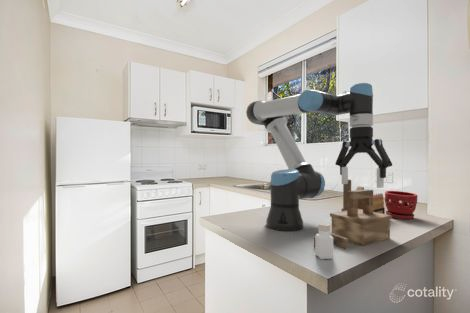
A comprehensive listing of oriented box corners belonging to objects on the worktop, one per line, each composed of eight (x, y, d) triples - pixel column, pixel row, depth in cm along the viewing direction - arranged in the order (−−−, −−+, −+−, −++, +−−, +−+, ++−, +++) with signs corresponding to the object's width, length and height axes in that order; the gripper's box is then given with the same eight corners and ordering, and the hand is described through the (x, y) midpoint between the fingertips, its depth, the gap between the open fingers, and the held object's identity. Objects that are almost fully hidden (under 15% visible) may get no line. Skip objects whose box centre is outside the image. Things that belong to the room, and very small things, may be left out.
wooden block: (364, 215, 121) (364, 179, 121) (346, 217, 118) (347, 180, 118) (358, 214, 125) (358, 178, 125) (341, 215, 121) (341, 179, 121)
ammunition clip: (373, 221, 110) (374, 194, 110) (369, 220, 112) (369, 194, 112) (384, 218, 117) (384, 193, 117) (380, 217, 118) (380, 192, 118)
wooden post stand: (330, 216, 90) (330, 190, 90) (358, 211, 98) (358, 187, 98) (362, 225, 79) (362, 194, 79) (391, 218, 87) (391, 191, 87)
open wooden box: (331, 235, 90) (331, 216, 90) (358, 229, 98) (358, 212, 98) (362, 246, 80) (362, 224, 80) (389, 238, 87) (389, 218, 87)
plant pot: (384, 218, 117) (384, 193, 117) (385, 212, 128) (385, 190, 128) (418, 222, 109) (418, 195, 109) (416, 216, 120) (416, 192, 120)
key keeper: (314, 246, 79) (314, 237, 79) (332, 242, 83) (332, 233, 83) (329, 253, 73) (329, 243, 73) (348, 248, 78) (348, 238, 78)
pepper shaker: (334, 259, 69) (334, 225, 69) (320, 260, 69) (320, 226, 69) (327, 253, 73) (327, 222, 73) (314, 254, 73) (314, 222, 73)
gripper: (326, 130, 98) (326, 183, 98) (391, 121, 76) (391, 190, 76) (338, 131, 101) (338, 182, 101) (404, 123, 80) (404, 188, 79)
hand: (361, 185), depth 88 cm, fingers open, 13 cm apart
